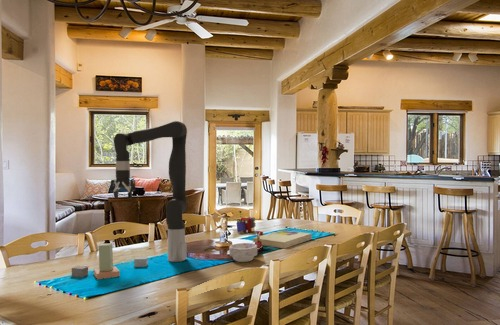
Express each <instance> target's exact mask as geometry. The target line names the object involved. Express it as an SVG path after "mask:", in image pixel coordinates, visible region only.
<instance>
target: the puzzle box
mask: <svg viewBox="0 0 500 325" xmlns="http://www.w3.org/2000/svg"><path fill="white" fill-rule="evenodd" d="M312 237H313V236H312V233H310V232H300V231H291V230H290V231H289V230H279V231H275V232H270V233H267V234H266V233H265V234H263V236H260V241H262V244H263V245H262V246H264V247H270V248H271V247H272V248H278V249H279V248H280V249H286V248H290V247H292V246H296V245H299V244H301V243H305V242H308V241H310V240H312ZM252 241H253V242H257V241H258V240H257V236H256V237H252ZM253 242H252V243H253Z"/></svg>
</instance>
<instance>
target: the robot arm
mask: <svg viewBox="0 0 500 325" xmlns="http://www.w3.org/2000/svg"><path fill="white" fill-rule="evenodd" d="M187 134H188V129H187V126H186V125H185V123H184V122H182V121H177V120H174V121H171V122H168V123H165V124H162V125H159V126H156V127H155V126H154V127H150V128H144V129H139V130H138V129H137V130H133V131H132V132H127V133H124V132H118V133H116V134H115V136H114V138H113V146H114V150H115V155H116V156H115V178H116V179H111V181H110V191H112V192H113V197H114V199H119V190H120V189H121V188H122V189H126V190H127V200H131V199H132V198H133V192H135V191H136V180H135V179H131V180H130V178H131V164H130V152H129V151H128V150H127V148H128V147H127V146H132V145H135V144H141V143H148V142H151V141H154V140H157V139H162V138H172V140H171V141H172V148H171V151H170V152H171V153H170V156H169V159H168V160H169V161H168V177H169V180H170V183H171V186H172V198H171V199H170V200H168V201H167V203H166V205H165V221H166V225H167V261H168V262H171V263H173V262H174V263H176V262H183V261H185V260H187V257H188V256H187V241H186V235H185V234H186V224H185V222H184V221H183V214H184V213H186V210H187V208H188V206H187V203H188V202H187V194H186V177H187V176H186V175H187V174H186V173H187V168H186V167H187V166H186V165H187V162H186V159H187V158H186V155H187V154H186V153H187V152H186V145H187V144H186V143H187V142H186V141H187Z"/></svg>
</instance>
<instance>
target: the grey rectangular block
mask: <svg viewBox="0 0 500 325" xmlns="http://www.w3.org/2000/svg"><path fill="white" fill-rule="evenodd" d="M88 275H89V266H81V265H77V266H72V267H71V277H74V278H75V277H77V278H84V277H86V276H88Z"/></svg>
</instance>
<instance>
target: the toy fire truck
mask: <svg viewBox="0 0 500 325" xmlns="http://www.w3.org/2000/svg"><path fill="white" fill-rule="evenodd" d="M256 235H257V236H256V237H257V240H258V241H257V242H255V244H256V245H257V248H260V247H261V245H262V241H260V236H263V235H264V231H257V232H256ZM262 246H263V245H262Z"/></svg>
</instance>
